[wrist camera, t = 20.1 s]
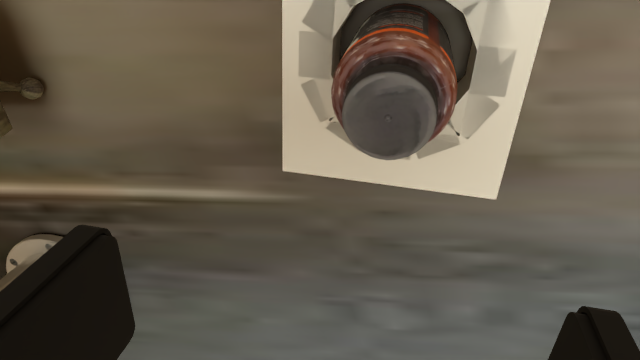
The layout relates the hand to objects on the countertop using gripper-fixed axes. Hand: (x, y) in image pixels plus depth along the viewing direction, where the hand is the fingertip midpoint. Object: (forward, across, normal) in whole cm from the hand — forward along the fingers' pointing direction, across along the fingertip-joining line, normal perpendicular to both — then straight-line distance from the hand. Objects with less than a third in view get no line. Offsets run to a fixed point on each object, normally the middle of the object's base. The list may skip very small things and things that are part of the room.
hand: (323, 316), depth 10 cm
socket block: (+22, -1, 0) cm, 22 cm away
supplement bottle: (+23, -1, 0) cm, 23 cm away
